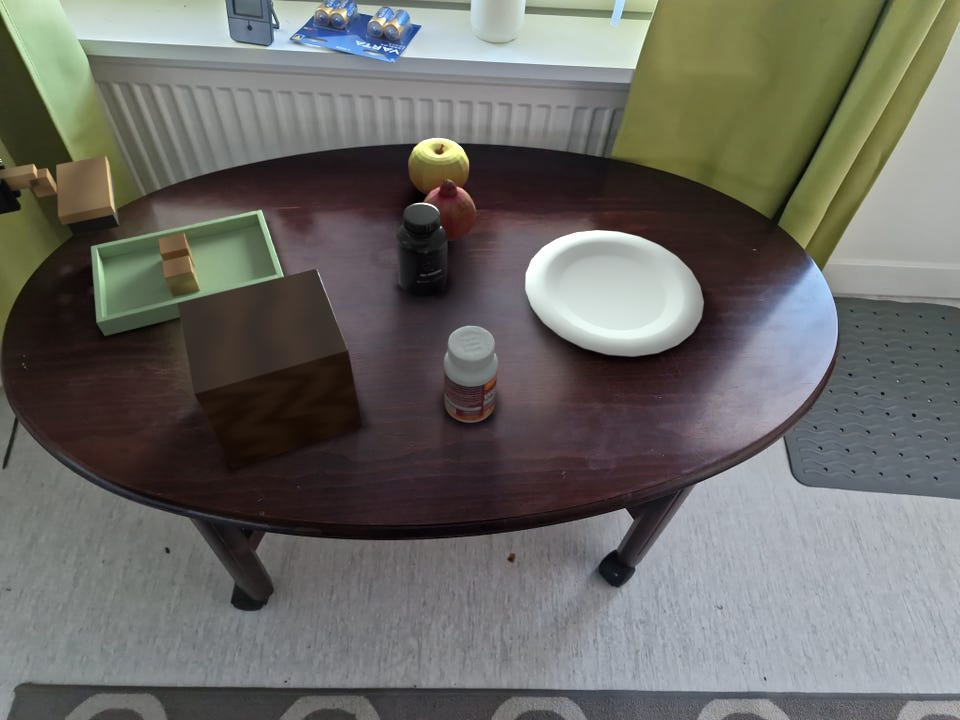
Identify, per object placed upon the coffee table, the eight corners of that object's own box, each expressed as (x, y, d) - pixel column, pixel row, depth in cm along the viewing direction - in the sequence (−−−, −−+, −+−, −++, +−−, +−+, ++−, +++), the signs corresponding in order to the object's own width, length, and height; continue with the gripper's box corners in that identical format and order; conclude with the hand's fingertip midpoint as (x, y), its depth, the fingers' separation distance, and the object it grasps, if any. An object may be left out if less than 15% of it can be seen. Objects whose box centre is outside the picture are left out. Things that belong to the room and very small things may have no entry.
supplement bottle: (430, 306, 89) (428, 238, 80) (389, 287, 91) (383, 219, 82) (456, 277, 93) (457, 209, 84) (416, 259, 95) (413, 191, 86)
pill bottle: (493, 426, 77) (498, 367, 68) (441, 422, 77) (440, 362, 68) (496, 385, 81) (501, 324, 72) (447, 381, 81) (446, 319, 72)
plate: (514, 239, 99) (515, 230, 97) (674, 236, 101) (677, 227, 99) (535, 366, 83) (537, 358, 82) (724, 360, 85) (728, 352, 84)
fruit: (424, 255, 96) (422, 200, 88) (420, 221, 101) (418, 165, 93) (478, 252, 96) (480, 197, 89) (471, 218, 102) (473, 163, 94)
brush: (116, 177, 83) (94, 132, 78) (122, 227, 77) (99, 182, 72) (-22, 204, 78) (-54, 158, 73) (-27, 259, 72) (-62, 213, 67)
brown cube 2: (169, 273, 90) (160, 254, 88) (166, 257, 92) (157, 238, 90) (195, 267, 91) (187, 248, 89) (191, 251, 93) (184, 232, 91)
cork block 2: (173, 297, 88) (164, 278, 85) (170, 280, 90) (161, 261, 87) (200, 290, 89) (192, 271, 86) (196, 274, 91) (188, 255, 88)
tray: (104, 336, 84) (96, 322, 82) (98, 260, 93) (90, 246, 90) (287, 290, 90) (283, 276, 88) (264, 223, 99) (261, 209, 97)
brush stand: (232, 468, 72) (194, 394, 61) (214, 382, 80) (177, 302, 69) (362, 426, 76) (348, 350, 65) (333, 348, 84) (316, 268, 73)
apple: (480, 184, 107) (482, 141, 101) (446, 214, 102) (446, 170, 96) (432, 163, 111) (431, 120, 104) (397, 191, 105) (393, 148, 99)
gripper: (-133, 14, 64) (-27, 173, 78) (-161, 92, 55) (-34, 256, 69) (-47, 4, 66) (42, 160, 80) (-59, 78, 57) (43, 239, 71)
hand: (6, 204), depth 75 cm, fingers closed on brush
